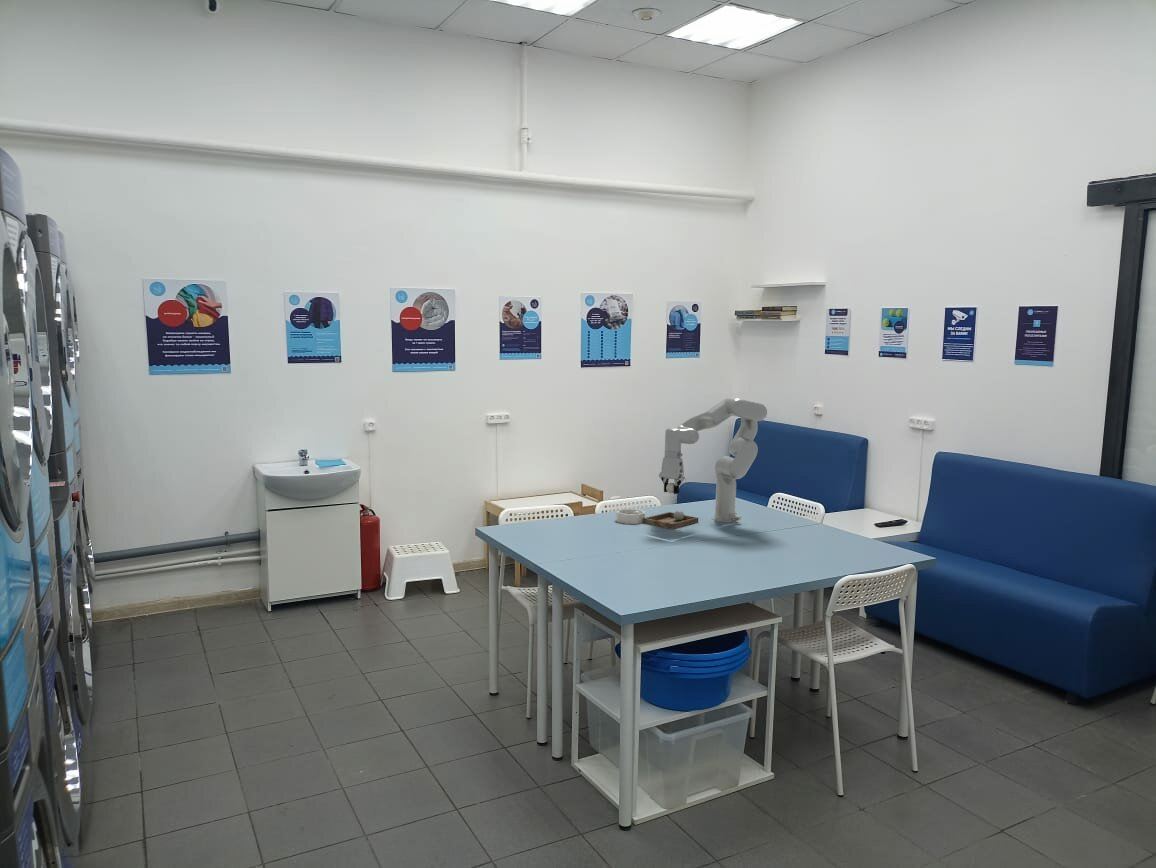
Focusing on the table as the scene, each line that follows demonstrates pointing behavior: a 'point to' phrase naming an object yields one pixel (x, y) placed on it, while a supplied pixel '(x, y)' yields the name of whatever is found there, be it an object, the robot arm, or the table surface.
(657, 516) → the tray
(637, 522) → the bowl
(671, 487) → the pebble
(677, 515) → the pebble
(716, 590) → the table surface
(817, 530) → the table surface
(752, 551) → the table surface
